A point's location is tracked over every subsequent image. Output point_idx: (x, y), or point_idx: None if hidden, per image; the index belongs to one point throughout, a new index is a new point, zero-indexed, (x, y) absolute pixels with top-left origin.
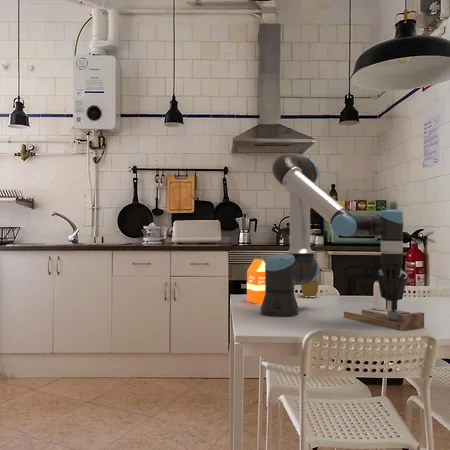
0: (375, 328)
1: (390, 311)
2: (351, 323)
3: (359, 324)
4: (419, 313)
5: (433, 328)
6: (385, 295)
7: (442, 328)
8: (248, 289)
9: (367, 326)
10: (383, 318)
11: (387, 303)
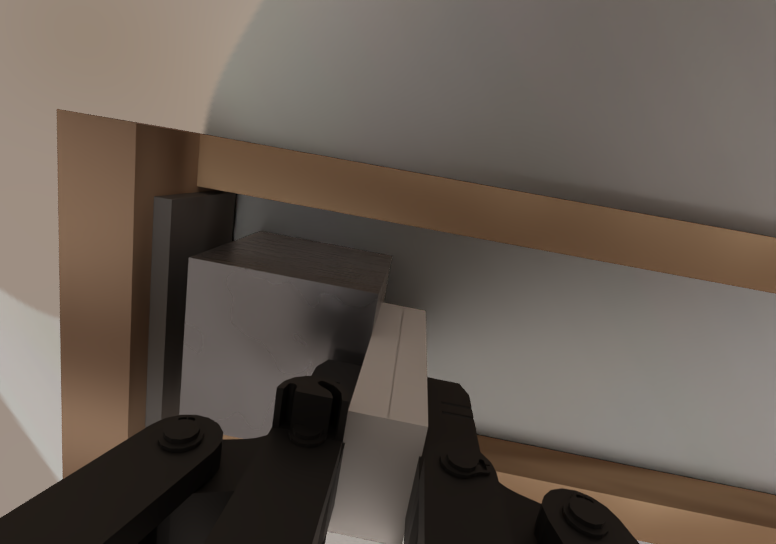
0: (390, 4)
1: (350, 300)
2: (714, 14)
3: (617, 45)
4: (66, 428)
5: None
6: (495, 521)
7: None
8: None
9: (500, 24)
10: (559, 458)
11: (424, 397)
